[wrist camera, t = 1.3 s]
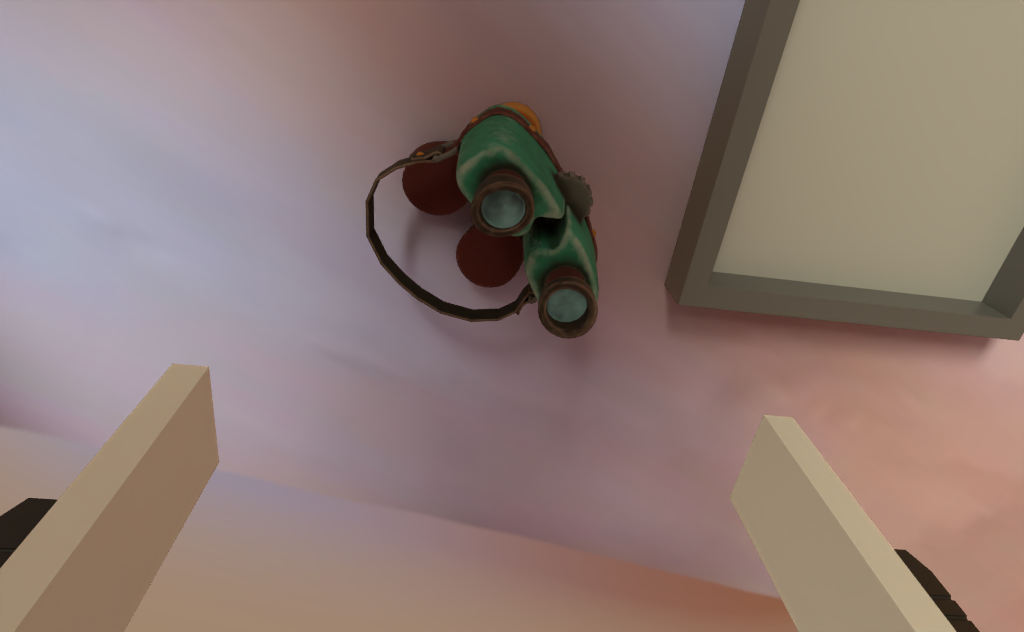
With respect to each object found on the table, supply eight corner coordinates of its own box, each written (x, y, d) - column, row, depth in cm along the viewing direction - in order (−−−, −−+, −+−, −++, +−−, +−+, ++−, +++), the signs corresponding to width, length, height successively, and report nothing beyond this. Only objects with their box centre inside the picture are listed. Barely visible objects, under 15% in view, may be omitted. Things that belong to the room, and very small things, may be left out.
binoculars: (282, 268, 21) (530, 114, 18) (359, 173, 30) (532, 60, 27) (433, 437, 24) (658, 333, 21) (460, 307, 33) (621, 221, 31)
